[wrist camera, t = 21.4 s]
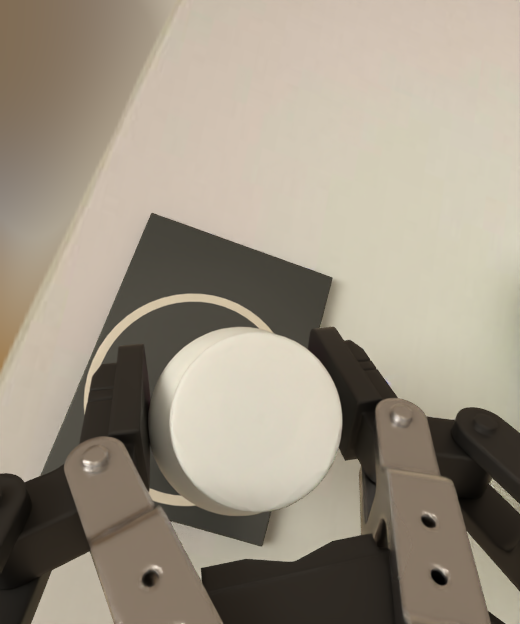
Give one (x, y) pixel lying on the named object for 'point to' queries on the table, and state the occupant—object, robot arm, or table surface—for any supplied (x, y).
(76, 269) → the table surface
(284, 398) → the pill bottle
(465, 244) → the table surface
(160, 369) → the slate board
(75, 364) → the table surface
